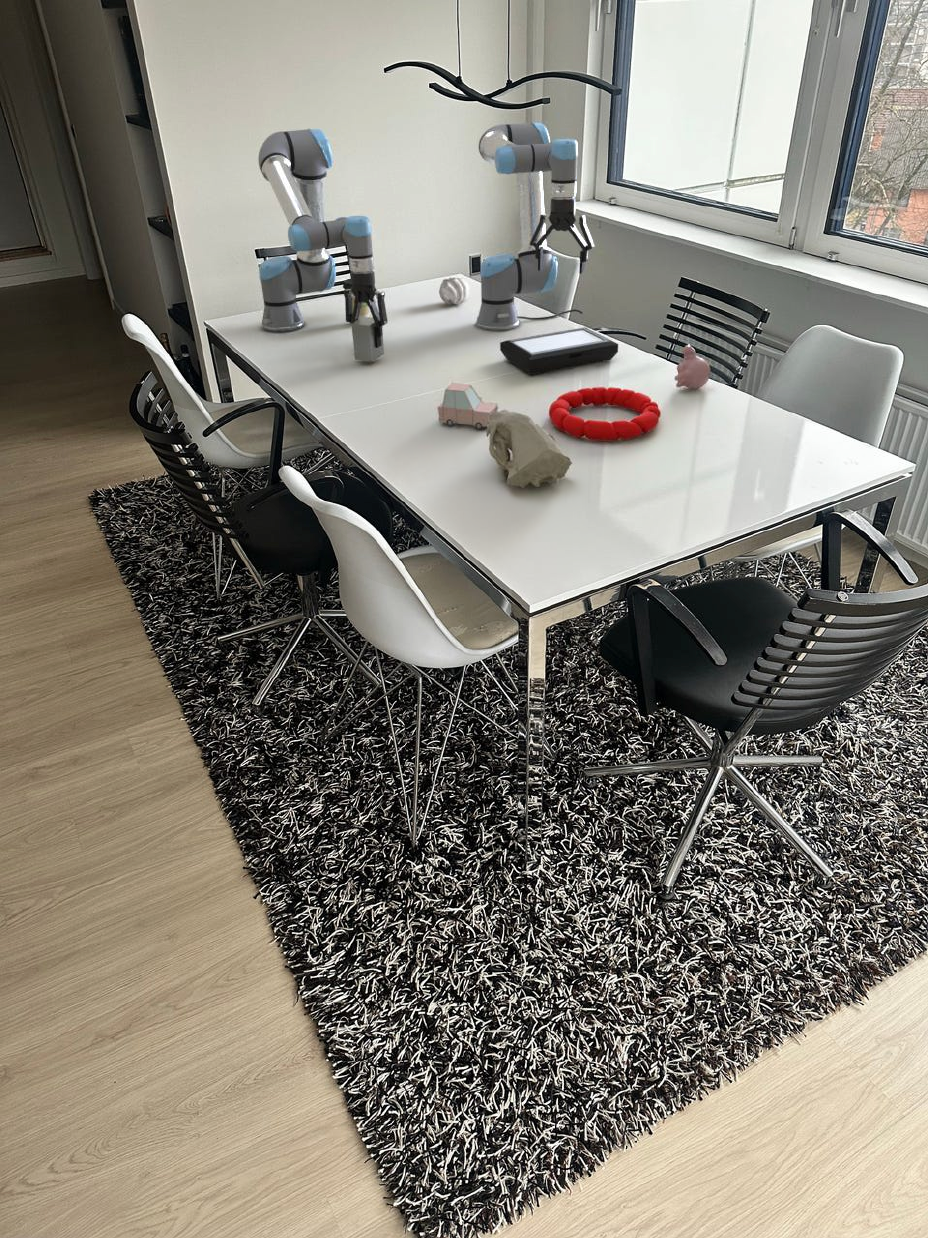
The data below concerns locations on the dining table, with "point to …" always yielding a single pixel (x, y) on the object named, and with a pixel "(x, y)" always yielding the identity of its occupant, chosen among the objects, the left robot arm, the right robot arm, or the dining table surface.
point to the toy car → (465, 406)
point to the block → (365, 340)
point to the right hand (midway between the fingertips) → (560, 271)
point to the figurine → (692, 370)
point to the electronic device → (558, 350)
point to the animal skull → (525, 450)
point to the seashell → (453, 290)
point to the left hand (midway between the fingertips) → (368, 345)
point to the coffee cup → (364, 307)
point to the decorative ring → (604, 428)
